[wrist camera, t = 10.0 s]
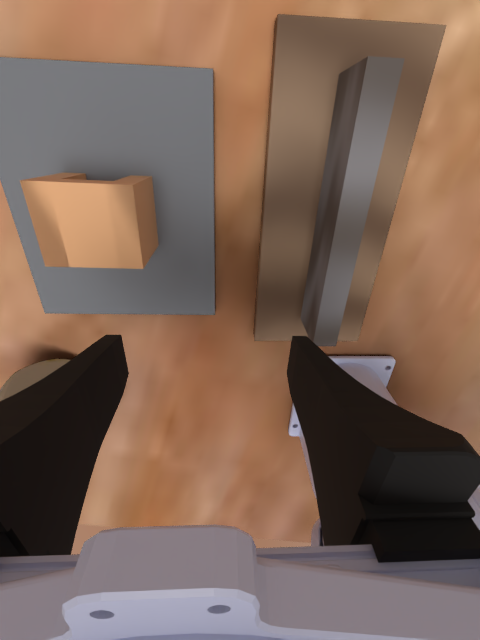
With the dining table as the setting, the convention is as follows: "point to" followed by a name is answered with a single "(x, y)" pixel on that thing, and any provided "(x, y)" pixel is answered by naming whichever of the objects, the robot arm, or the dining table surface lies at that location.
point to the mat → (117, 173)
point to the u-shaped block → (93, 220)
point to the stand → (335, 167)
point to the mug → (29, 376)
